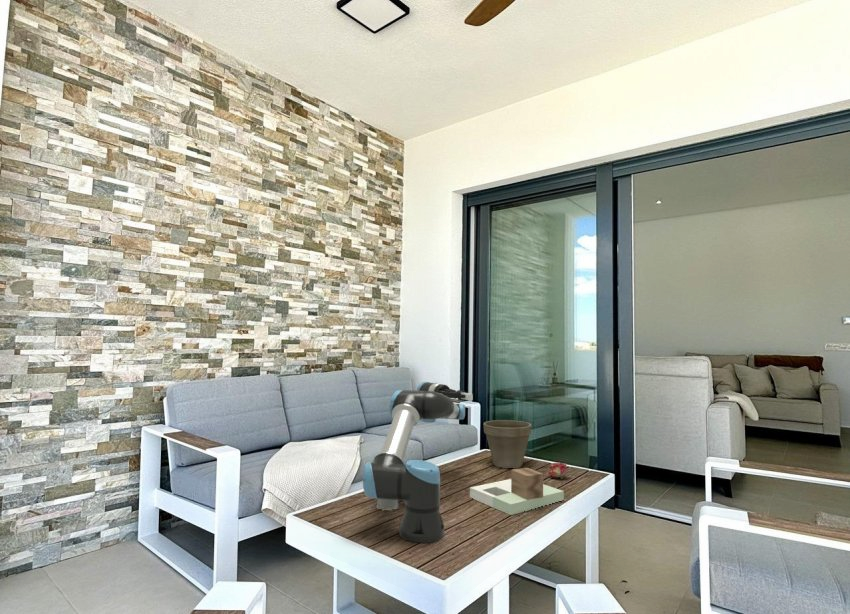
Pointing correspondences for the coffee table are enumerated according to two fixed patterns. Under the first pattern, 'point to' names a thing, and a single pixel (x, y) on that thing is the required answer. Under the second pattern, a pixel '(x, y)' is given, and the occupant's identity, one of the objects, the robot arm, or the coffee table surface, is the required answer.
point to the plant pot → (507, 441)
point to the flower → (558, 470)
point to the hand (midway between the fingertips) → (471, 397)
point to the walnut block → (527, 483)
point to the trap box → (512, 497)
